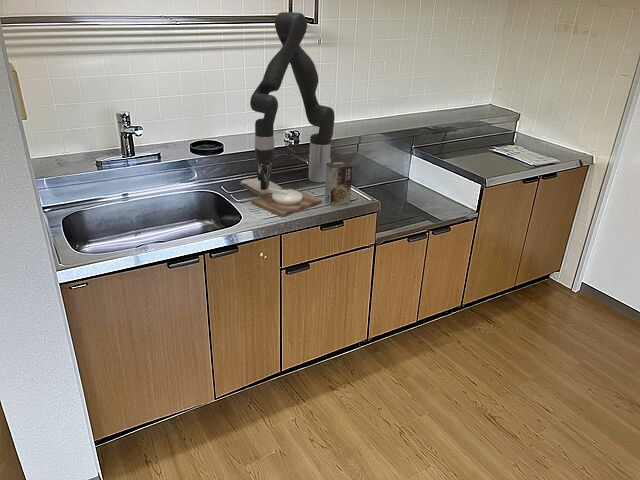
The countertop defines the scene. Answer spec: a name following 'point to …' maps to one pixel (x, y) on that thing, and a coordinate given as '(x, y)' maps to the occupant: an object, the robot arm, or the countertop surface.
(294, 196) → the dial
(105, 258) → the countertop surface
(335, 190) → the coffee box
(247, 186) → the washcloth
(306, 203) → the dial board
